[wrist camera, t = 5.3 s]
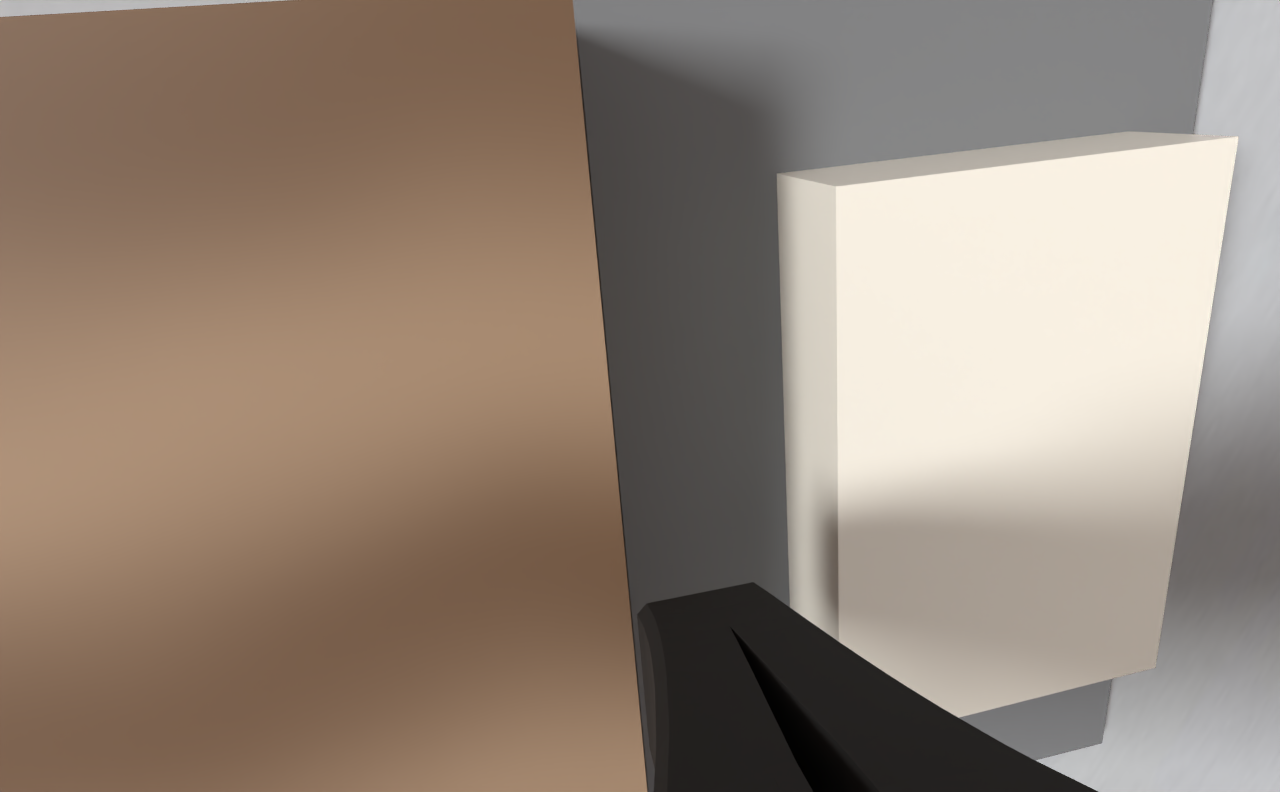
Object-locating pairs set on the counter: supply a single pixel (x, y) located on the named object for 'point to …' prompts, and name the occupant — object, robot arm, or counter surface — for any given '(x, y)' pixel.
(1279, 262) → the counter surface
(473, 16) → the wooden block
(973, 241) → the cream sticky note pad
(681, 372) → the mat
